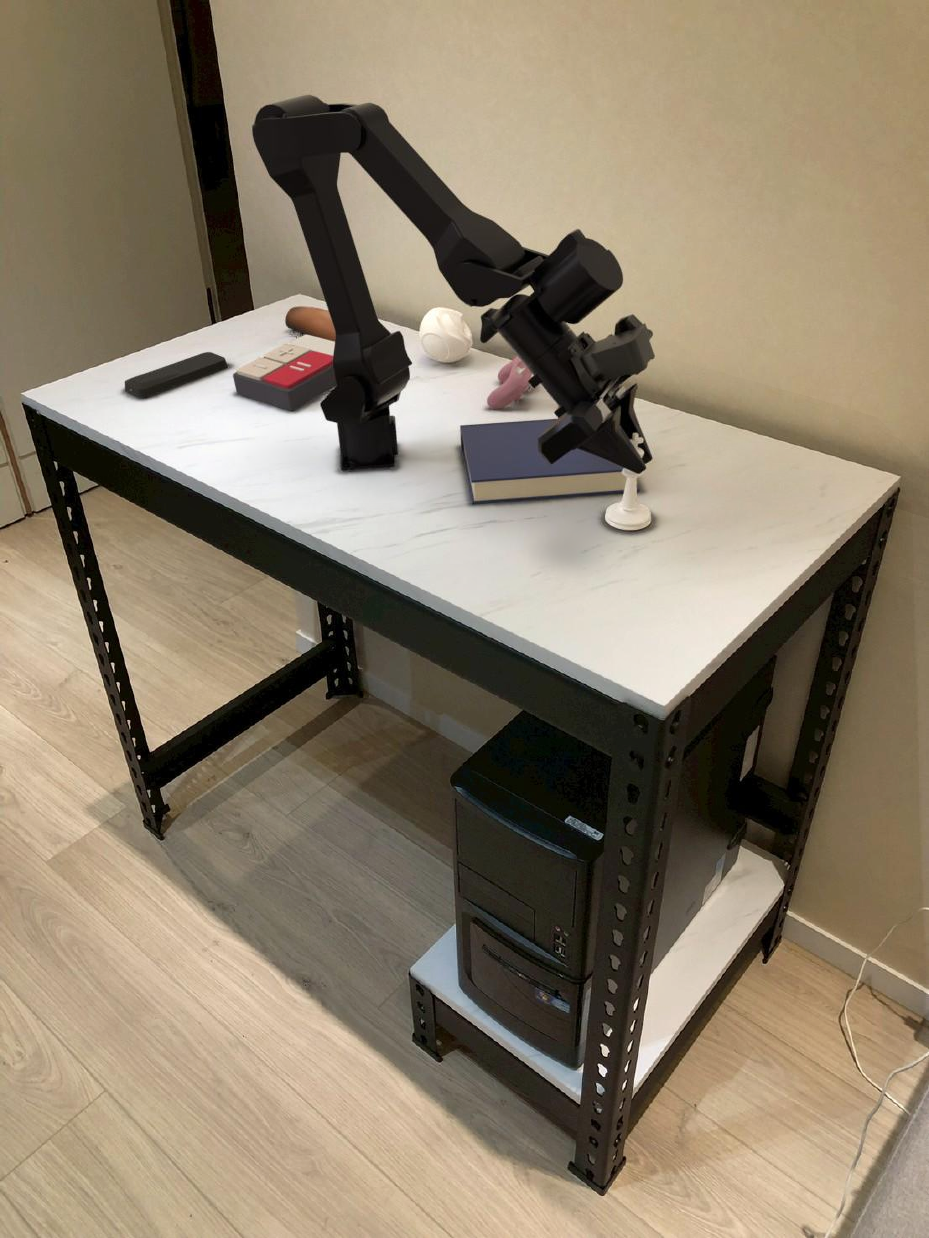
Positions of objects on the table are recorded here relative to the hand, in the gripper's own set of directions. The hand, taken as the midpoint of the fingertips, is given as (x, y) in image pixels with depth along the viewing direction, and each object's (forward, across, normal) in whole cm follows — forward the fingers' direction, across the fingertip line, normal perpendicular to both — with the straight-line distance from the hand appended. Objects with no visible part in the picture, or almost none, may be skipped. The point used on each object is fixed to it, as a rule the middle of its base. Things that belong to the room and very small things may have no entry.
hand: (645, 466), depth 101 cm
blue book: (-5, +8, +15) cm, 17 cm away
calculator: (-33, +19, +44) cm, 58 cm away
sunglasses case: (-36, +35, +47) cm, 69 cm away
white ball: (-22, +34, +33) cm, 52 cm away
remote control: (-46, +14, +57) cm, 74 cm away
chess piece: (+4, 0, +6) cm, 7 cm away
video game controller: (-13, +25, +23) cm, 36 cm away
